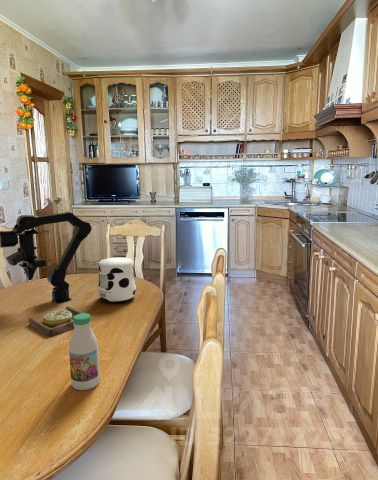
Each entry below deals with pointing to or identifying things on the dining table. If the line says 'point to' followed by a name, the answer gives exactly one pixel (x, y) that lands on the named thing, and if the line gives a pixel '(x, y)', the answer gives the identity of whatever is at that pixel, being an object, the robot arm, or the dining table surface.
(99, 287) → the milk container
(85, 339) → the milk bottle
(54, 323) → the decorated donut
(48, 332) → the u-shaped brown rail
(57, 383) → the dining table surface
